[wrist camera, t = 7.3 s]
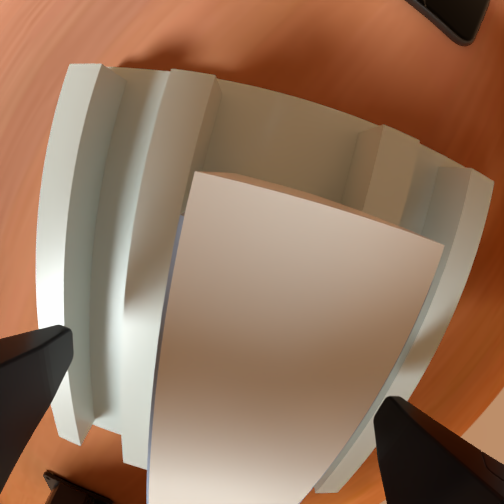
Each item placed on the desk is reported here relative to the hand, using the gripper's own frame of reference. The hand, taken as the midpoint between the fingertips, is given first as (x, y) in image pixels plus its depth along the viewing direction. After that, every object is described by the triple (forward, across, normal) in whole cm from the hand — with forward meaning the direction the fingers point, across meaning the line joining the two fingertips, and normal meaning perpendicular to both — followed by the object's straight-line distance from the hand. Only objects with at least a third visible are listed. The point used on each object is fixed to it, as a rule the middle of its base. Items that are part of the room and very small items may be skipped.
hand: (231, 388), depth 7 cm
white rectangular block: (+3, 0, 0) cm, 3 cm away
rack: (+4, 0, 0) cm, 4 cm away
